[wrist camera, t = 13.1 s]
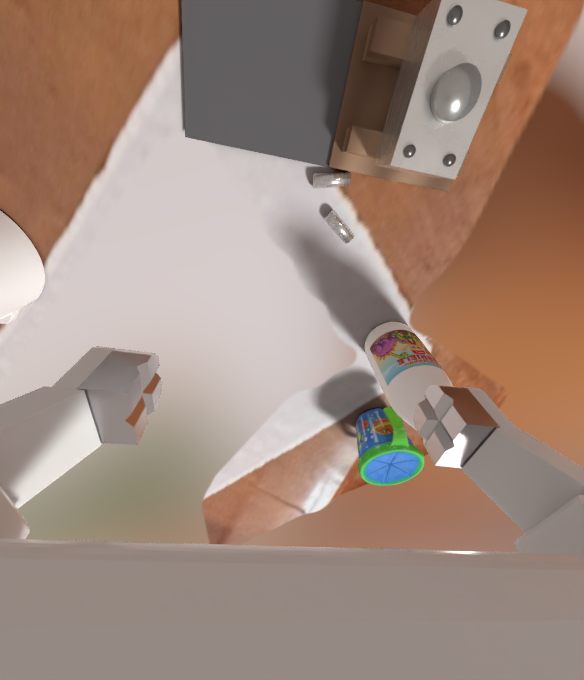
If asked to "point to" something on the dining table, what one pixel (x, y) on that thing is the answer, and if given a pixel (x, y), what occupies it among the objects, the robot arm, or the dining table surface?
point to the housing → (446, 84)
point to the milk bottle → (403, 367)
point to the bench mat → (267, 73)
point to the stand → (376, 95)
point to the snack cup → (386, 448)
